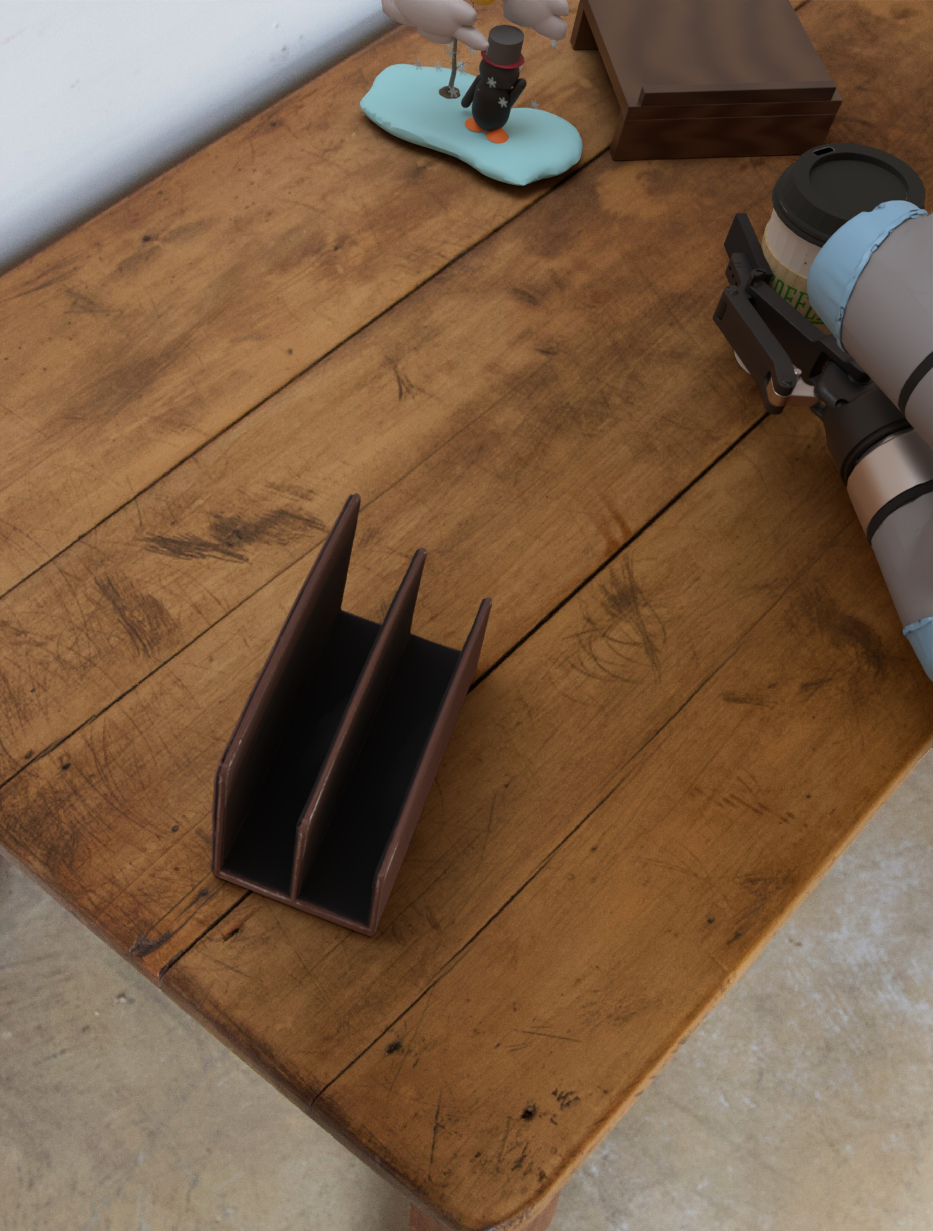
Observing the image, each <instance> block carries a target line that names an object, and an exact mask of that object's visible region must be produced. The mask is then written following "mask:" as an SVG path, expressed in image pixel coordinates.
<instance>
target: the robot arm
mask: <svg viewBox="0 0 933 1231" xmlns="http://www.w3.org/2000/svg"><path fill="white" fill-rule="evenodd" d="M723 248H724V249H725V252H726V255H727V257H728V260H729V261H728V263H727V266H726V268H725V273H724V275H725V277H726V279H727V282H728V284H729V285H727V286H725V287H724V288H723V291H722V293H721V296H720V298H719V301H718V303H717V305H716V308H715V310H714V312H713V315H712V320H713V322H714V324H715V325H716V326H717V328H718V329H719V330H720V332H721V334H722V335H723V337H724V338H725V339H726V341H727V342H728V345H730V347H731V348H732V349H733V352H734V351H735V352H736V354H737V355H738V357H739V358H740V360H741V361H742V363H743V364H744V366H745V367H746V368H747V370H748V371H749V373H750V374H751V375H750V374H749V373H748V374H749V375H750V376H751V378H752V379H753V380H754V382H755V383H756V385H757V386H758V387H759V389H760V392H761V397H762V402H763V406H764V410H765V412H767V413H769V414H770V415H774V416H778V415H780V414H782V413H783V412H784V410H785V408H786V406H791V407H807V408H808V409H809V410H810V412H811V413H812V414H813V415H815V416H816V417H817V418H818V419H819V420H820V421H821V422H822V424H823V428H824V433H825V440H826V446H827V449H828V451H829V454H830V456H831V458H832V459H831V460H832V462H833V463H834V465H835V468H836V470H837V474H838V475H839V478H840V480H841V482H842V484H843V485H844V486H845V487H846V491H847V495H848V497H849V500H850V502H851V505H852V507H853V509H854V512H855V515H856V516H857V519H858V521H859V523H860V526H861V528H862V531H863V533H864V536H865V537H866V540H867V542H868V544H869V547H870V550H871V552H872V553H873V554H874V555H875V556H874V557H875V559H876V561H877V564H878V566H879V569H880V572H881V575H882V577H883V579H884V582H885V585H886V587H887V590H888V592H889V595H890V597H891V600H892V603H893V605H894V608H895V610H896V613H897V615H898V618H899V620H900V623H901V626H902V635H903V637H904V639H906V640H908V642H909V644H910V646H911V647H912V650H913V651H914V653H915V655H916V657H917V659H918V662H919V663H920V665H921V667H922V669H923V671H924V673H925V674H926V676H927V677H928V679H929V680H930V681H931V682H932V683H933V212H931V213H930V214H929V212H928V211H927V210H926V208H925V209H919V208H918V207H917V206H916V205H914V204H912V203H910V202H907V201H900V200H898V201H888V202H884V203H881V204H880V205H878V206H877V207H876V208H875V209H874V210H873V211H872V212H861V213H860V214H858V215H857V216H855V217H853V218H852V219H851V220H849V221H848V222H846V223H845V224H844V225H843V226H842V227H840V228H839V229H838V230H837V231H836V232H835V233H834V234H833V235H832V236H831V237H830V238H829V240H828V241H827V242H826V243H825V245H824V246H823V247H822V249H821V250H820V251H819V253H818V254H817V256H816V258H815V259H814V261H813V264H812V266H811V268H810V271H809V275H808V279H807V294H808V296H809V303H810V305H811V307H812V308H813V309H814V311H815V312H816V313H817V314H818V316H819V317H820V318H821V320H822V321H823V322H824V324H825V325H826V326H827V328H828V329H829V330H830V331H831V333H832V334H830V335H825V334H824V333H822V332H821V331H820V330H819V329H818V328H817V327H816V326H814V325H813V324H812V323H811V322H810V321H809V320H808V319H806V318H805V317H804V316H803V315H802V314H801V313H799V312H798V311H797V310H796V309H795V308H794V307H793V306H791V305H790V304H789V303H788V302H787V301H786V300H785V299H783V298H782V297H781V296H780V295H779V294H778V293H777V292H775V291H774V290H773V289H772V288H771V287H770V286H768V284H769V282H770V280H771V278H772V276H773V273H772V271H771V268H770V266H769V264H768V262H767V260H766V258H765V256H764V254H763V250H762V248H761V242H760V240H759V238H758V236H757V234H756V232H755V229H754V227H753V224H752V222H751V220H750V217H749V215H748V213H747V212H737V213H735V215H734V217H733V219H732V222H731V224H730V227H729V229H728V232H727V235H726V237H725V239H724V242H723ZM793 365H795V366H796V367H797V368H794V367H793Z"/></svg>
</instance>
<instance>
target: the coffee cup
mask: <svg viewBox="0 0 933 1231" xmlns="http://www.w3.org/2000/svg"><path fill="white" fill-rule="evenodd" d="M898 200H900V201H907V202H910V203H912V204H914V205H916V206H917V207H918V208H919V209H925V210H926V206H925V201H926V187H925V184H924V182H923V180H922V179H921V177H920V176H919V174H918V173H917V172H916V171H915V169H913V168H912V167H911V166H910V165H909V164H907V163H906V162H905V161H904V160H902V159H901V158H899V157H897V156H895V155H893V154H891V153H890V152H887V151H885V150H882V149H880V148H878V147H873V146H869V145H865V144H859V143H855V142H853V143H851V142H832V143H826V144H823V145H820V146H817V147H814V148H812V149H810V150H808V151H806V152H805V153H803V154H800V156H799V157H798V158H797V159H796V160H795V162H793V163H792V164H790V165H789V166H788V167H786V168H785V170H784V171H783V172H782V173H781V174H780V175H779V177H778V179H777V180H775V183H774V186H773V188H772V190H771V203H772V204H771V205H772V208H773V209H772V212H771V216H770V219H769V220H768V221H767V224H766V225H765V228H764V232H763V235H762V239H761V242H760V245H761V248H762V250H763V254H764V256H765V258H766V260H767V262H768V264H769V266H770V268H771V271H772V273H773V276H772V278H771V280H770V282H769V284H768V286H770V287H771V288H772V289H773V290H774V291H775V292H777V293H778V294H779V295H780V296H781V297H782V298H783V299H785V300H786V301H787V302H788V303H789V304H790V305H791V306H793V307H794V308H795V309H796V310H797V311H798V312H799V313H801V314H802V315H803V316H804V317H805V318H806V319H808V320H809V321H810V322H811V323H812V324H813V325H814V326H816V327H817V328H818V329H819V330H820V331H821V332H822V333H824V334H825V335H830V334H832V333H831V331H830V330H829V329H828V328H827V326H826V325H825V324H824V322H823V321H822V320H821V318H820V317H819V316H818V314H817V313H816V312H815V311H814V309H813V308H812V307H811V305H810V303H809V296H808V294H807V279H808V275H809V271H810V268H811V266H812V264H813V261H814V259H815V258H816V256H817V254H818V253H819V251H820V250H821V249H822V247H823V246H824V245H825V243H826V242H827V241H828V240H829V238H830V237H831V236H832V235H833V234H834V233H835V232H836V231H837V230H838V229H839V228H840V227H842V226H843V225H844V224H845V223H846V222H848V221H849V220H851V219H852V218H853V217H855V216H857V215H858V214H860V213H861V212H872V211H873V210H874V209H875V208H876V207H877V206H878V205H880V204H881V203H884V202H888V201H898ZM733 352H734V357H735V359H736V362H737V363H738V364H739V366H740V367H741V369H743V370H744V371H745V372H746V373H747V374H749V375H750V376H751V374H750V373H749V371H748V370H747V368H746V367H745V366H744V364H743V363H742V361H741V360H740V358H739V357H738V355H737V354H736V352H735V351H734V350H733ZM793 367H794V368H797V367H796V366H795V365H793Z"/></svg>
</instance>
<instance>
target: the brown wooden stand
mask: <svg viewBox="0 0 933 1231" xmlns="http://www.w3.org/2000/svg"><path fill="white" fill-rule="evenodd" d="M569 40H570V44H571V46H572V49H573V50H574V51H575V50H576V51H577V50H579V51H580V50H598V51H599V54H600V57H601V59H602V62H603V64H604V68H605V70H606V72H607V75H608V78H609V81H610V84H611V86H612V89H613V92H614V94H615V96H616V100H617V102H618V104H619V105H618V106H619V107H620V111H619V114H618V118H617V121H616V124H615V129H614V132H613V136H612V139H611V143H610V146H609V152H610V155H611V158H612V160H613V161H637V160H638V161H639V160H640V161H641V160H643V161H644V160H668V159H669V160H670V159H673V160H674V159H697V158H699V159H700V158H730V157H731V158H733V157H760V156H762V157H763V156H789V155H790V156H793V155H802V154H803V153H805V152H806V151H808V150H810V149H812V148H814V147H817V146H820V145H824V143H825V141H826V139H827V137H828V134H829V132H830V130H831V127H832V125H833V123H834V120H835V118H836V116H837V114H838V112H839V110H840V109H841V108H840V107H841V105H842V104H843V98H842V97H841V95H840V92H839V90H838V88H837V84H836V83H835V81H834V80H833V79H832V78H831V76H830V74H829V72H828V70H827V68H826V66H825V64H824V63H823V60H822V59H821V57H820V55H819V53H818V52H817V49H816V48H815V45H814V44H813V42H812V40H811V38H810V37H809V35H808V33H807V31H806V29H805V27H804V25H803V23H802V21H801V20H800V18H799V16H798V14H797V12H796V11H795V8H794V7H793V4H792V3H791V1H790V0H579V1H578V6H577V10H576V13H575V19H574V22H573V26H572V31H571V35H570V39H569Z"/></svg>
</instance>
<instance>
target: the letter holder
mask: <svg viewBox="0 0 933 1231" xmlns="http://www.w3.org/2000/svg"><path fill="white" fill-rule="evenodd" d="M361 499H362V498H361V495H360V494H359V493H357V492H355V493H353V494H352V493H350V494H349V495H348V496H347V498H346V500H345V501H344V503H343V505H342V508H341V510H340V511H339V514H338V516H337V517H336V519H335V521H334V523H333V524H332V527H331V529H330V530H329V533H328V534H327V536H326V539H325V540H324V542H323V545H322V546H321V548H320V550H319V552H318V553H317V556H316V558H315V559H314V561H313V564H312V566H311V567H310V570H309V572H308V574H307V575H306V577H305V579H304V581H303V583H302V585H301V587H300V589H299V591H298V592H297V595H296V597H295V599H294V601H293V603H292V605H291V607H290V610H289V611H288V614H287V616H286V618H285V620H284V622H283V624H282V626H281V628H280V630H279V633H278V635H277V637H276V639H275V640H274V642H273V645H272V647H271V649H270V651H269V653H268V656H267V657H266V659H265V662H264V663H263V666H262V668H261V670H260V672H259V673H258V677H257V678H256V680H255V682H254V684H253V687H252V688H251V690H250V693H249V694H248V697H247V699H246V701H245V703H244V704H243V708H242V710H241V713H240V714H239V717H238V719H237V721H236V723H235V726H234V728H233V730H232V732H231V735H230V736H229V739H228V741H227V743H226V744H225V747H224V749H223V752H222V754H221V756H220V759H219V761H218V764H217V766H216V769H215V773H214V777H213V790H212V791H213V792H212V808H211V862H210V872H211V873H212V874H213V877H215V878H218V879H222V880H225V881H227V882H229V883H232V884H234V885H236V886H239V887H241V888H244V889H247V890H250V891H252V892H254V893H257V894H259V895H263V896H265V897H267V898H270V899H272V900H274V901H276V902H277V901H278V902H280V903H281V904H282V903H283V904H285V905H287V906H290V907H294V908H296V909H297V910H299V911H302V912H305V913H307V914H309V915H313V916H314V917H318V918H321V919H323V920H326V921H328V922H330V923H333V924H336V925H338V926H340V927H344V928H347V929H349V930H352V931H353V932H357V933H359V934H363V935H365V936H368V937H371V938H373V937H374V936H375V934H376V933H377V931H378V928H379V927H378V926H379V924H380V921H381V920H382V916H383V913H384V910H385V908H386V905H387V903H388V901H389V898H390V896H391V894H392V890H393V888H394V885H395V883H396V880H397V878H398V875H399V872H400V869H401V867H402V865H403V862H404V859H405V857H406V854H407V852H408V849H409V846H410V844H411V842H412V838H413V835H414V832H415V831H416V828H417V826H418V824H419V821H420V818H421V814H422V812H423V811H424V810H423V809H424V806H425V804H426V802H427V799H428V797H429V793H430V791H431V789H432V787H433V784H434V781H435V779H436V777H437V774H438V771H439V768H440V765H441V763H442V760H443V758H444V756H445V752H446V749H447V747H448V744H449V742H450V740H451V737H452V735H453V732H454V729H455V726H456V725H457V721H458V719H459V716H460V714H461V711H462V709H463V708H462V707H463V705H464V703H465V700H466V697H467V694H468V693H469V689H470V687H471V684H472V682H473V681H474V676H475V675H476V672H477V671H478V664H479V660H480V656H481V653H482V649H483V645H484V644H483V643H484V640H485V635H486V630H487V627H488V622H489V620H490V614H491V610H492V607H493V600H492V597H491V596H487V597H486V598H483V599H481V602H480V604H479V606H478V610H477V613H476V616H475V618H474V620H473V624H472V626H471V628H470V630H469V632H468V634H467V636H466V639H465V641H464V644H463V646H462V648H461V650H460V649H457V648H454V647H450V646H447V645H444V644H442V643H438V642H435V641H432V640H430V639H427V638H424V637H422V636H419V635H417V634H414V633H412V631H411V630H412V625H413V620H414V615H415V614H414V613H415V609H416V604H417V601H418V594H419V590H420V586H421V581H422V578H423V577H422V576H423V572H424V568H425V563H426V559H427V556H428V553H427V552H428V551H427V549H426V548H425V547H420V548H418V549H416V551H415V552H414V553H413V556H412V559H411V561H410V563H409V566H408V567H407V570H406V571H405V573H404V576H402V580H401V582H400V585H399V587H398V589H397V590H396V592H395V594H394V596H393V599H392V600H391V603H390V605H389V607H388V610H387V612H386V614H385V617H384V619H383V621H382V623H380V622H375V621H373V620H370V619H368V618H365V617H362V616H359V615H356V614H355V613H351V612H349V611H346V610H343V609H342V605H343V601H344V596H345V590H346V584H347V579H348V573H349V567H350V563H351V556H352V552H353V547H354V543H355V542H354V540H355V538H356V532H357V526H358V522H359V520H358V519H359V513H360V510H361V502H362V501H361Z"/></svg>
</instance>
